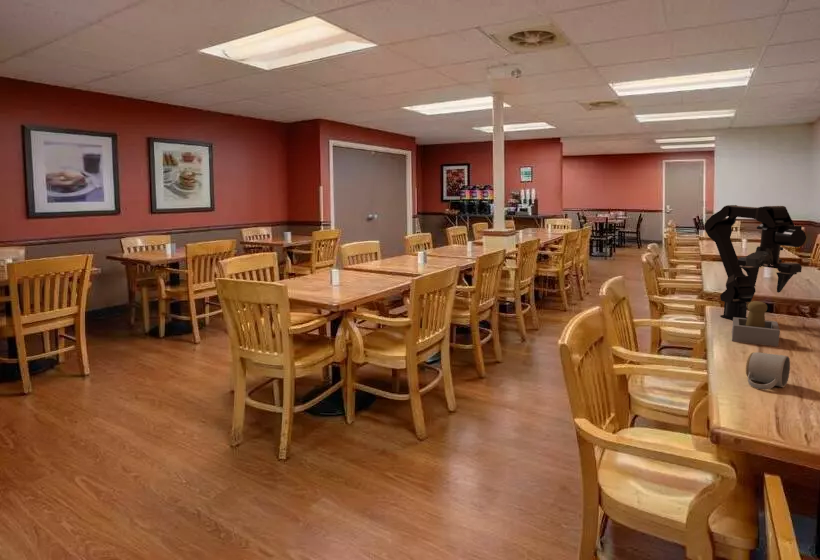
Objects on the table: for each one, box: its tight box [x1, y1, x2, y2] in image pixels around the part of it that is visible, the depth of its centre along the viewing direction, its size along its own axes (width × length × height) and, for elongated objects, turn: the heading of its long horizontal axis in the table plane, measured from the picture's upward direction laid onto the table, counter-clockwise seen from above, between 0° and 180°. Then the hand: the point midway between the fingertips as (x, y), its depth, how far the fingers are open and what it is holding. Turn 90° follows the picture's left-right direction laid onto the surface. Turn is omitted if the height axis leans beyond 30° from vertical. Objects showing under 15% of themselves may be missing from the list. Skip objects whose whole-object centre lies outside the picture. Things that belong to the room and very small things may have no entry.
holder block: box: [731, 317, 781, 347], centre depth 170 cm, size 12×12×5 cm
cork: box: [746, 300, 768, 328], centre depth 170 cm, size 6×6×11 cm
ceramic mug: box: [745, 351, 791, 391], centre depth 133 cm, size 11×8×8 cm
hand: (765, 289), depth 182 cm, fingers open, 9 cm apart
